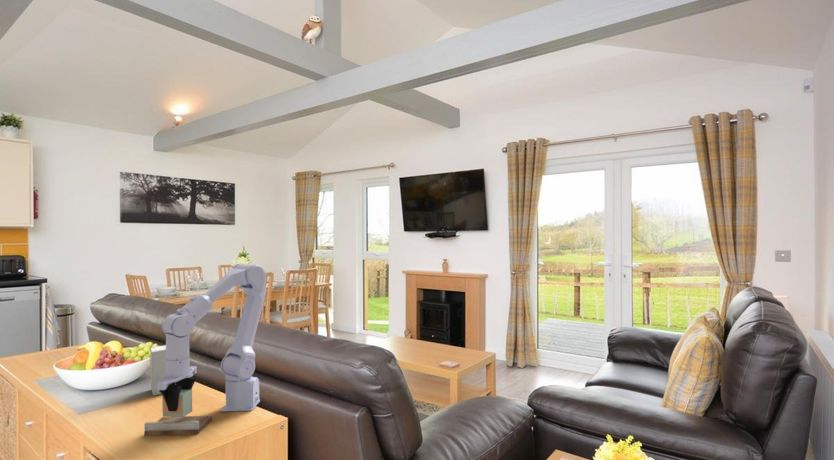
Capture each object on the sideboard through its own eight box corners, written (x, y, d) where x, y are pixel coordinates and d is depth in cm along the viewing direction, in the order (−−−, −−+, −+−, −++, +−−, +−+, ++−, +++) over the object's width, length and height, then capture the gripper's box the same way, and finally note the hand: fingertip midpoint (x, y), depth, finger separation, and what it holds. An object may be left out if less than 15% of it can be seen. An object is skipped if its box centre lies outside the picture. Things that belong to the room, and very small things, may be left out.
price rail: (199, 428, 119) (199, 420, 119) (197, 429, 118) (197, 422, 118) (146, 429, 119) (146, 422, 119) (144, 431, 118) (144, 423, 118)
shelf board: (212, 419, 127) (212, 415, 127) (197, 434, 118) (197, 429, 118) (162, 421, 127) (162, 417, 127) (144, 435, 118) (144, 431, 118)
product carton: (172, 410, 124) (171, 389, 124) (192, 411, 124) (191, 389, 124) (162, 416, 120) (161, 394, 120) (183, 417, 120) (182, 395, 120)
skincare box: (172, 392, 150) (171, 348, 150) (151, 396, 147) (151, 351, 147) (170, 385, 157) (169, 343, 157) (150, 389, 154) (149, 346, 154)
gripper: (174, 366, 115) (175, 418, 114) (206, 351, 129) (206, 397, 129) (149, 365, 115) (149, 418, 115) (183, 350, 130) (184, 397, 130)
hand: (178, 407), depth 122 cm, fingers closed on product carton, 4 cm apart
